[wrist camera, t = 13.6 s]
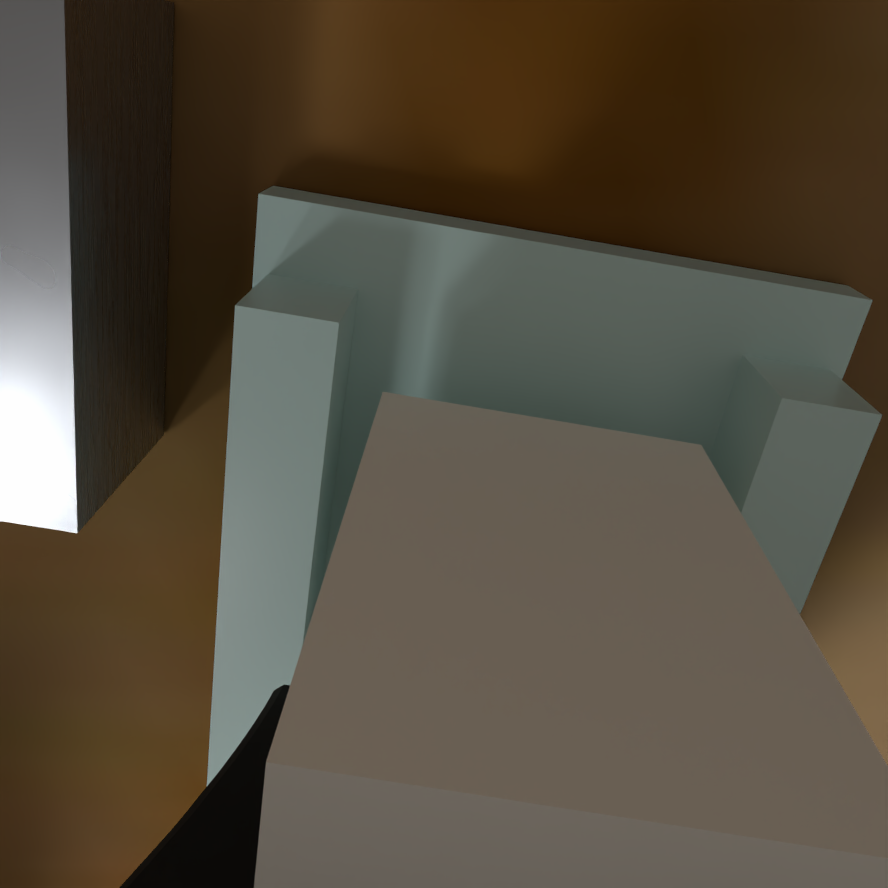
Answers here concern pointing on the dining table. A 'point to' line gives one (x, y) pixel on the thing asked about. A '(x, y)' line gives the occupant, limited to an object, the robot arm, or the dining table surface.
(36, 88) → the channel
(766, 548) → the cradle
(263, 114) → the dining table surface
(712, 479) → the white block
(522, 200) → the dining table surface
